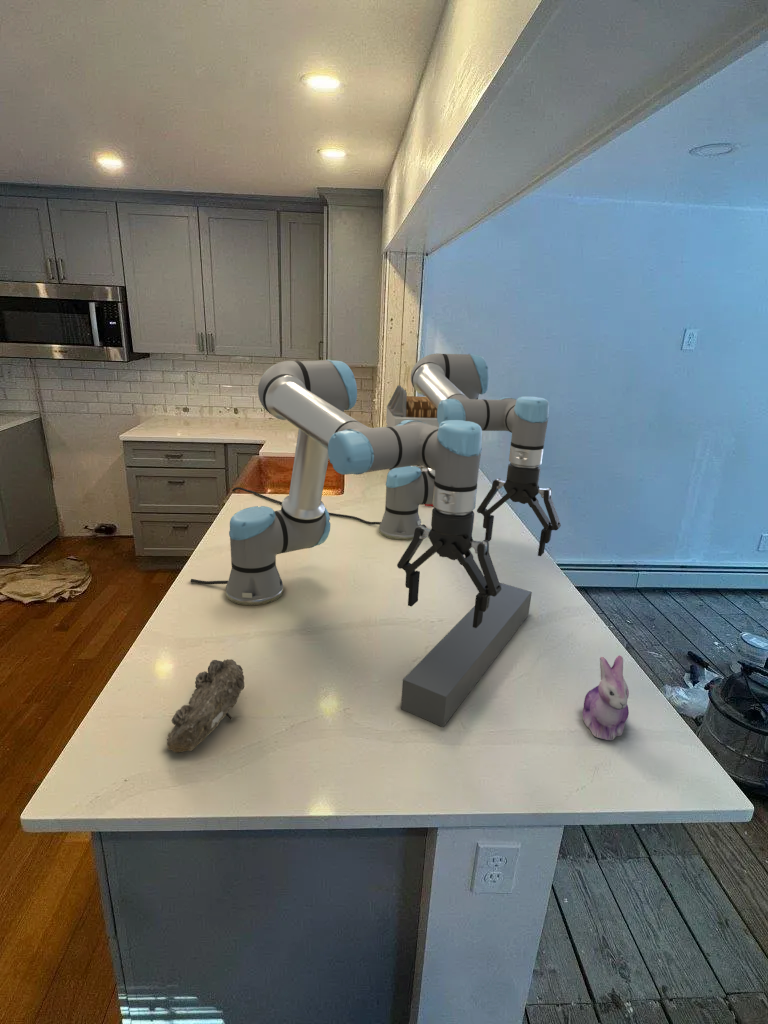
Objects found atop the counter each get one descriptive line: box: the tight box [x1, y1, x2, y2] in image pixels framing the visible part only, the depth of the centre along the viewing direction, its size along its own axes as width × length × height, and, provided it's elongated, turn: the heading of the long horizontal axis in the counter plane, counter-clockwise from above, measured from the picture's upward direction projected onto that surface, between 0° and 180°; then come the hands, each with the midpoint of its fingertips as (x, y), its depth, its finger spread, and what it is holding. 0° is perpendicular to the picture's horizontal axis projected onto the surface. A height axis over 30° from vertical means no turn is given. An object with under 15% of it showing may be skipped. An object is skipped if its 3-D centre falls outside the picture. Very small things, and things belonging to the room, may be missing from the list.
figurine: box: [581, 654, 630, 741], centre depth 108 cm, size 9×10×15 cm
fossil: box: [166, 658, 245, 754], centre depth 106 cm, size 22×10×15 cm
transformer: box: [385, 384, 439, 471], centre depth 268 cm, size 34×33×41 cm
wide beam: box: [400, 581, 533, 728], centre depth 130 cm, size 52×9×7 cm, turn 149°
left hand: (444, 613), depth 108 cm, fingers open, 13 cm apart
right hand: (513, 547), depth 140 cm, fingers open, 13 cm apart
